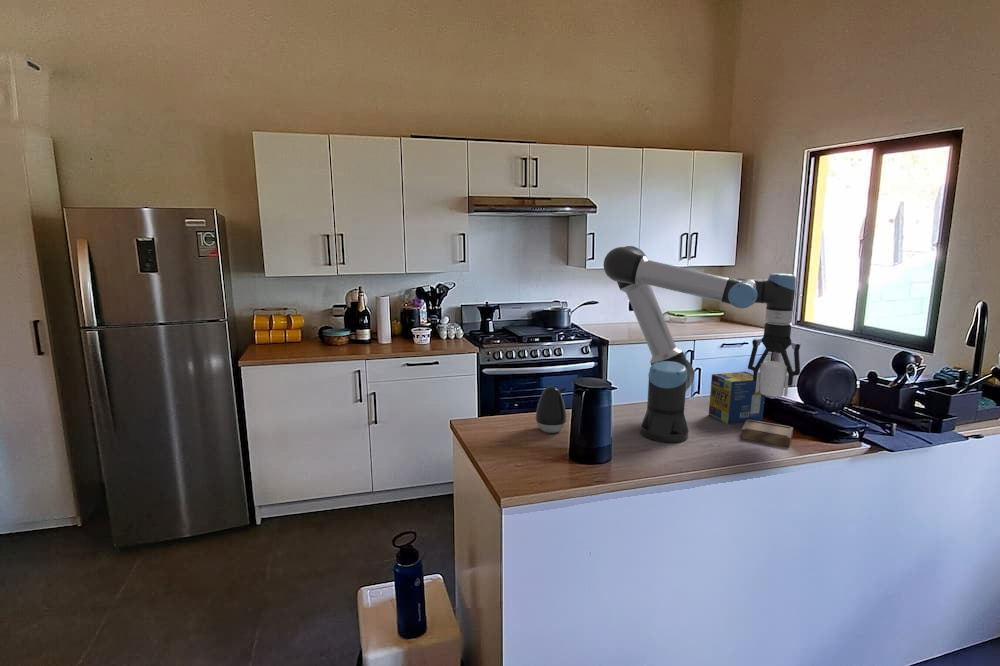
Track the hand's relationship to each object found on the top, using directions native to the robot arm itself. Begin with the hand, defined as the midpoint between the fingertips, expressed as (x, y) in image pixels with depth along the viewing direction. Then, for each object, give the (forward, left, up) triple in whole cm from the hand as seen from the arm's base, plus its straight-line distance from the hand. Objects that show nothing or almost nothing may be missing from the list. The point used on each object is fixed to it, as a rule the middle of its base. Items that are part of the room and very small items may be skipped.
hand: (771, 393), depth 176 cm
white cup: (0, 0, 0) cm, 0 cm away
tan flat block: (0, 0, -15) cm, 15 cm away
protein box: (-12, +15, -15) cm, 25 cm away
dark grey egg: (-62, -33, -15) cm, 72 cm away
